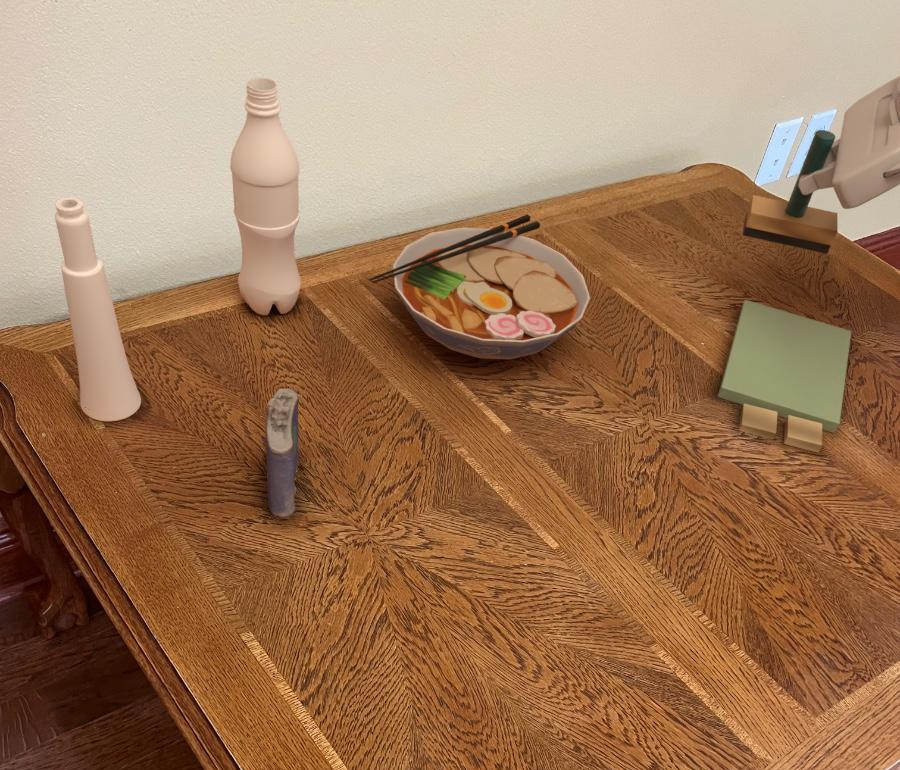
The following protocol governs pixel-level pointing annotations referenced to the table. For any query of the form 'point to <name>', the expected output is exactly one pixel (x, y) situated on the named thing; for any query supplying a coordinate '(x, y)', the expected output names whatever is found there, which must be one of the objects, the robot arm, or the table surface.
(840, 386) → the green rectangular board
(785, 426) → the cracker
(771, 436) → the cracker
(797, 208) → the brush
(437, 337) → the ramen bowl
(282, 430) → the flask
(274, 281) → the water bottle
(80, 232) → the cosmetic bottle
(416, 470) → the table surface
